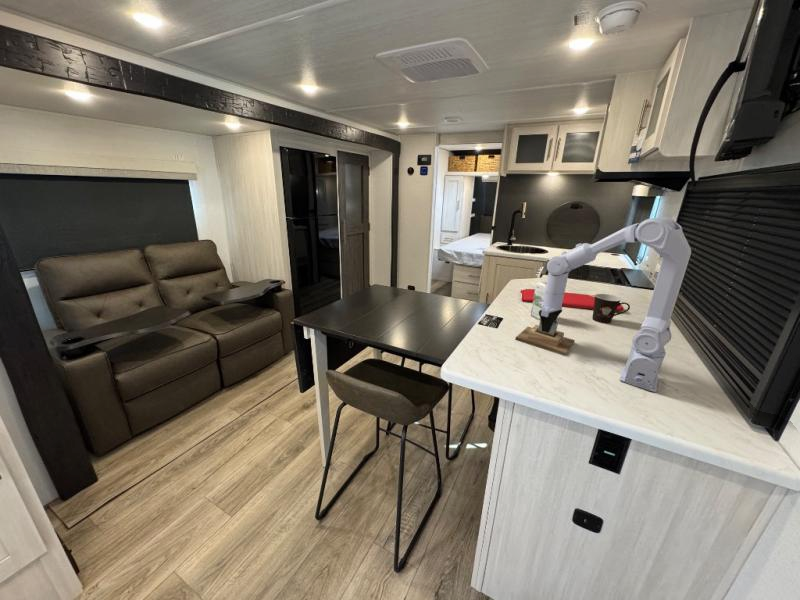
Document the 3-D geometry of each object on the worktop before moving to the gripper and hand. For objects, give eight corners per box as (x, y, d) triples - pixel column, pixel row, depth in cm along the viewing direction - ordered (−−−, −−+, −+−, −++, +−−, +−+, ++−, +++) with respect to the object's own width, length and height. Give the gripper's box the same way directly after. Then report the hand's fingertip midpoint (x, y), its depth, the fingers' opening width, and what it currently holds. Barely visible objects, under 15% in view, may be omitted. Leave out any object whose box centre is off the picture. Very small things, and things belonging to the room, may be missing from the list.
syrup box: (551, 319, 125) (558, 285, 120) (540, 321, 123) (546, 286, 118) (540, 313, 130) (546, 281, 125) (529, 315, 128) (535, 282, 123)
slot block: (564, 355, 97) (567, 346, 96) (515, 339, 107) (516, 330, 106) (574, 342, 106) (576, 333, 105) (527, 328, 116) (528, 320, 114)
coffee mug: (585, 319, 125) (591, 296, 122) (593, 314, 130) (599, 292, 127) (618, 329, 117) (625, 304, 113) (625, 323, 122) (632, 300, 118)
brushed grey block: (551, 342, 103) (556, 323, 101) (536, 337, 106) (540, 319, 104) (554, 339, 105) (558, 321, 103) (539, 334, 108) (543, 316, 106)
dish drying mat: (520, 292, 157) (521, 285, 156) (611, 303, 146) (613, 295, 144) (521, 302, 143) (522, 295, 142) (622, 315, 132) (625, 307, 130)
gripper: (548, 285, 108) (541, 320, 112) (534, 294, 97) (527, 333, 102) (570, 289, 103) (562, 325, 108) (558, 300, 93) (549, 339, 98)
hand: (546, 329), depth 105 cm, fingers closed on brushed grey block, 3 cm apart
